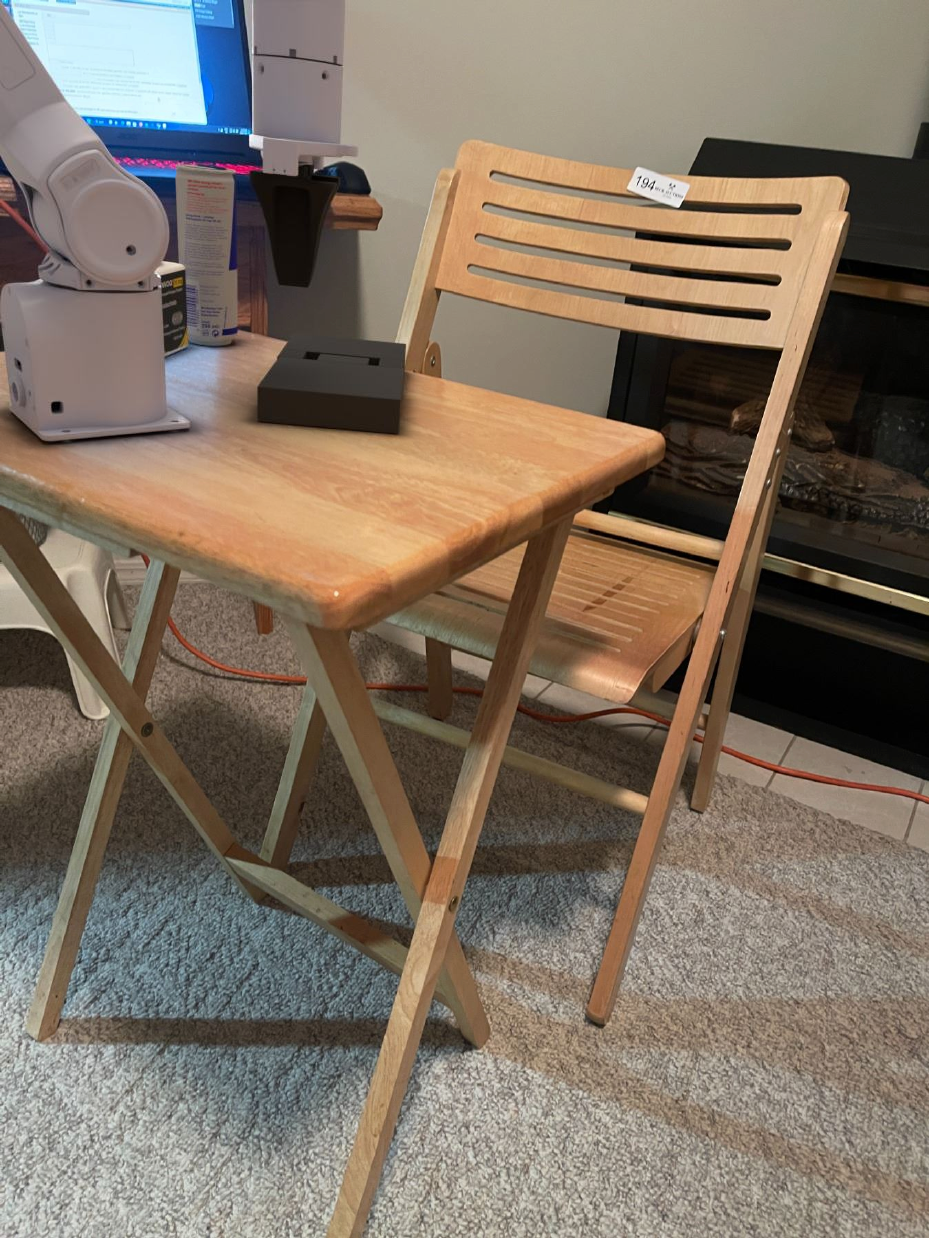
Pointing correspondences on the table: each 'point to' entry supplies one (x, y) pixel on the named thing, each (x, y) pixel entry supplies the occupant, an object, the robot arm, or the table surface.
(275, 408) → the loose pad
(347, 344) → the pad
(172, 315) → the black printed box
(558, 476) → the table surface
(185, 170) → the beverage can
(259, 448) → the table surface
